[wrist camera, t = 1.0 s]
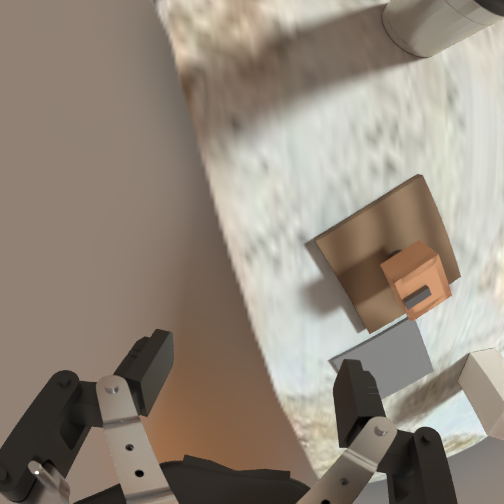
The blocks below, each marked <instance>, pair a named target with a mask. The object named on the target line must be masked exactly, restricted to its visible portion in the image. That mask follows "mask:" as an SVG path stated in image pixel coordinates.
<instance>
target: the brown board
mask: <svg viewBox="0 0 504 504" xmlns="http://www.w3.org/2000/svg"><path fill="white" fill-rule="evenodd" d="M315 240H316V242H317V244H318V246H319V247H320V249H321V251H322V252H323V254H324V256H325V257H326V259H327V261H328V262H329V264H330V265H331V267H332V269H333V271H334V272H335V274H336V276H337V277H338V279H339V281H340V282H341V284H342V286H343V288H344V289H345V291H346V293H347V294H348V296H349V298H350V300H351V301H352V303H353V305H354V307H355V308H356V310H357V312H358V314H359V316H360V317H361V319H362V321H363V323H364V325H365V326H366V328H367V330H368V332H369V334H371V333H373V332H374V331H376V330H378V329H380V328H381V327H383V326H385V325H387V324H388V323H390V322H392V321H394V320H395V319H397V318H399V317H400V316H402V315H403V314H405V312H404V310H403V309H402V307H401V306H400V304H399V303H398V301H397V300H396V297H395V295H394V293H393V291H392V289H391V287H390V284H389V282H388V280H387V278H386V276H385V274H384V272H383V270H382V268H381V266H380V264H382V263H383V262H385V261H386V260H388V259H390V258H391V257H393V256H394V255H396V254H398V253H399V252H401V251H402V250H404V249H405V248H407V247H409V246H410V245H412V244H413V243H415V242H416V241H418V240H420V241H422V242H423V243H424V244H426V245H427V246H428V247H430V248H431V249H432V250H434V251H435V252H436V253H438V254H439V257H440V260H441V263H442V266H443V269H444V272H445V275H446V278H447V281H448V284H451V283H452V282H454V281H455V280H456V279H458V278H459V277H461V275H460V272H459V268H458V265H457V262H456V259H455V256H454V253H453V250H452V247H451V244H450V241H449V238H448V235H447V232H446V230H445V227H444V224H443V222H442V219H441V217H440V214H439V211H438V209H437V207H436V204H435V202H434V199H433V197H432V195H431V192H430V190H429V188H428V186H427V184H426V181H425V179H424V177H423V175H419V174H417V175H416V176H414V177H413V178H411V179H409V180H408V181H406V182H405V183H403V184H402V185H400V186H398V187H397V188H395V189H394V190H392V191H390V192H389V193H387V194H386V195H384V196H382V197H381V198H379V199H378V200H376V201H374V202H373V203H371V204H370V205H368V206H366V207H365V208H363V209H362V210H360V211H358V212H357V213H355V214H354V215H352V216H350V217H349V218H347V219H345V220H344V221H342V222H341V223H339V224H337V225H336V226H334V227H332V228H331V229H329V230H327V231H326V232H324V233H322V234H321V235H319V236H318V237H316V238H315Z"/></svg>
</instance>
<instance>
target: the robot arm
mask: <svg viewBox="0 0 504 504" xmlns="http://www.w3.org/2000/svg"><path fill="white" fill-rule="evenodd" d="M502 19H504V0H390V2H389V3H388V4H387V6H386V7H385V9H384V11H383V14H382V20H383V24H384V27H385V29H386V31H387V33H388V34H389V36H390V37H391V39H392V40H393V41H394V42H395V43H396V44H397V45H398V46H399V47H401V48H402V49H404V50H405V51H407V52H409V53H411V54H413V55H416V56H419V57H431V56H433V55H435V54H437V53H439V52H441V51H443V50H444V49H446V48H448V47H450V46H452V45H454V44H456V43H457V42H459V41H461V40H463V39H465V38H467V37H469V36H471V35H473V34H475V33H476V32H478V31H480V30H482V29H484V28H486V27H488V26H490V25H492V24H494V23H496V22H498V21H500V20H502ZM173 360H174V349H173V333H172V332H169V331H165V330H160V329H156V330H155V331H154V333H153V334H152V336H151V337H150V338H149V337H143V338H142V339H140V340H138V341H137V342H136V343H135V344H134V346H133V347H132V349H131V350H130V351H129V353H128V355H127V356H126V357H125V358H124V360H123V361H122V362H121V364H120V365H119V367H118V368H117V370H116V371H115V372H114V374H113V375H108V376H105V377H102V378H101V379H100V380H99V381H98V382H86V381H79V378H78V376H77V375H76V374H75V373H74V372H72V371H68V370H63V371H59V372H57V373H55V374H54V375H53V376H52V377H51V379H50V380H49V381H48V383H47V384H46V385H45V386H44V388H43V389H42V390H41V392H40V393H39V395H38V396H37V397H36V398H35V400H34V401H33V403H32V404H31V405H30V407H29V408H28V409H27V411H26V412H25V413H24V415H23V416H22V418H21V419H20V421H19V422H18V423H17V425H16V426H15V428H14V429H13V431H12V432H11V434H10V435H9V437H8V438H7V440H6V441H5V443H4V444H3V446H2V447H1V449H0V493H1V494H2V495H3V496H4V497H5V498H6V499H7V500H8V501H9V502H11V503H12V504H69V495H70V487H69V484H68V482H67V481H66V480H65V478H66V476H67V474H68V472H69V470H70V468H71V466H72V464H73V462H74V460H75V458H76V456H77V454H78V452H79V450H80V448H81V446H82V444H83V442H84V440H85V438H86V437H87V435H88V433H89V431H90V429H91V427H92V426H93V427H102V428H103V429H104V433H105V437H106V440H107V444H108V447H109V451H110V454H111V458H112V461H113V464H114V467H115V470H116V473H117V476H118V479H119V482H120V483H119V484H117V485H115V486H113V487H110V488H108V489H106V490H104V491H102V492H99V493H97V494H94V495H92V496H89V497H87V498H84V499H82V500H79V501H77V502H75V503H73V504H352V503H353V502H354V500H355V499H356V498H357V497H358V495H359V494H360V492H361V491H362V490H363V488H364V487H365V486H366V484H367V483H368V481H369V480H370V479H371V477H372V476H373V474H374V473H375V471H377V472H382V473H386V475H387V484H388V494H389V504H458V503H457V499H456V494H455V489H454V485H453V481H452V477H451V473H450V469H449V465H448V461H447V458H446V454H445V451H444V447H443V444H442V440H441V437H440V435H439V433H438V432H437V431H436V430H434V429H433V428H430V427H421V428H419V429H417V430H416V431H415V433H410V432H406V431H401V430H398V429H397V427H396V425H395V424H394V423H393V421H391V420H390V419H388V418H386V415H385V411H384V408H383V404H382V401H381V397H380V395H379V390H378V388H377V384H376V380H375V378H374V377H373V376H372V374H371V373H370V372H369V371H363V368H362V364H361V361H360V360H354V359H344V360H343V362H342V364H341V367H340V370H339V372H338V375H337V377H336V380H335V382H334V387H333V397H334V405H335V413H336V422H337V431H338V440H339V448H347V450H345V451H344V452H343V454H342V455H341V456H340V457H339V458H338V459H337V461H336V462H335V463H334V464H333V465H332V466H331V468H330V469H329V470H328V471H327V472H326V473H325V474H324V475H323V476H322V478H321V479H320V480H319V481H318V482H317V483H316V484H315V485H314V486H313V487H312V488H310V487H308V486H307V485H306V484H304V483H302V482H300V481H298V480H295V479H292V478H290V471H280V470H270V469H257V470H243V471H236V470H232V469H230V468H227V467H225V466H223V465H220V464H218V463H215V462H213V461H211V460H206V459H202V458H197V457H193V456H189V455H184V459H183V461H169V462H164V463H161V464H158V461H157V460H156V457H155V455H154V452H153V450H152V448H151V445H150V443H149V440H148V438H147V435H146V433H145V430H144V428H143V425H142V422H141V420H140V418H139V415H142V416H146V417H147V416H148V415H149V413H150V411H151V409H152V406H153V405H154V403H155V401H156V398H157V397H158V395H159V392H160V390H161V389H162V387H163V385H164V383H165V381H166V379H167V377H168V375H169V373H170V371H171V368H172V366H173Z"/></svg>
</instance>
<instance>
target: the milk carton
mask: <svg viewBox="0 0 504 504" xmlns="http://www.w3.org/2000/svg"><path fill="white" fill-rule="evenodd" d="M458 382H459V384H460V386H461V388H462V389H463V391H464V393H465V395H466V396H467V398H468V400H469V402H470V403H471V405H472V407H473V409H474V411H475V413H476V415H477V416H478V418H479V420H480V422H481V424H482V426H483V428H484V430H485V432H486V434H487V435H488V436H491V437H494V438H498V439H501V440H504V358H503V356H502V355H501V354H500V353H499V352H498V350H497V349H496V348H491V349H487V350H482V351H477V352H472V353H470V354H469V357H468V359H467V361H466V364H465V366H464V368H463V370H462V373H461V375H460V377H459V379H458Z"/></svg>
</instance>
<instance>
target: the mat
mask: <svg viewBox="0 0 504 504" xmlns="http://www.w3.org/2000/svg"><path fill="white" fill-rule="evenodd" d="M344 359H354V360H360V361H361V364H362V368H363V371H369V372H370V373H371V374H372V376H373V377H374V378H375V380H376V384H377V388H378V390H379V395H380V397H381V399H383V398H385V397H387V396H389V395H391V394H393V393H395V392H397V391H399V390H401V389H402V388H404V387H406V386H408V385H410V384H412V383H413V382H415V381H417V380H419V379H420V378H422V377H424V376H426V375H427V374H429V373H431V372H432V371H433V367H432V364H431V362H430V359H429V356H428V353H427V350H426V347H425V345H424V342H423V339H422V336H421V334H420V331H419V329H418V326H417V323H416V321H415V320H413V321H412V322H411V321H410V320H409V318H408V317H407V318H405V319H403V320H402V321H400V322H398V323H397V324H395V325H393V326H391V327H390V328H388V329H386V330H385V331H383V332H381V333H379V334H378V335H376V336H374V337H372V338H370V339H368V340H367V341H365V342H363V343H361V344H359V345H357V346H355V347H353V348H352V349H350V350H348V351H346V352H344V353H342V354H340V355H338V356H336V357H334V358H332V362H333V363H334V365H335V366H336V368H337V369H338V370H340V367H341V364H342V362H343V360H344Z"/></svg>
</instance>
